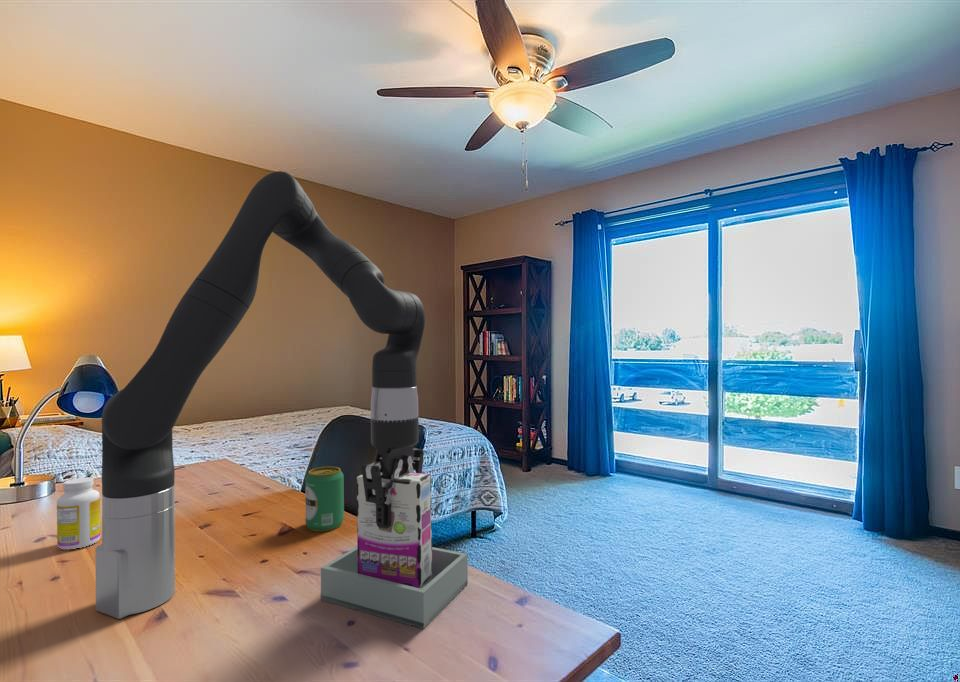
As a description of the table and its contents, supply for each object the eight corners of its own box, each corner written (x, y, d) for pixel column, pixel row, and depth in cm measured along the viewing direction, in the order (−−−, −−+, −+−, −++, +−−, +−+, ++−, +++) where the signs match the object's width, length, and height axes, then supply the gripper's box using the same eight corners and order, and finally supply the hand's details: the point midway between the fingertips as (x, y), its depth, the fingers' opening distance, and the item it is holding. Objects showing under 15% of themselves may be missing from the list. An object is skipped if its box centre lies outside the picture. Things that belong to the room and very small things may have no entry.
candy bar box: (433, 574, 78) (432, 472, 78) (420, 590, 73) (420, 481, 73) (372, 565, 81) (371, 467, 81) (355, 579, 76) (355, 476, 76)
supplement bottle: (95, 535, 102) (95, 474, 102) (104, 543, 97) (104, 479, 97) (53, 545, 96) (53, 481, 96) (61, 554, 92) (60, 487, 92)
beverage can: (299, 525, 106) (298, 470, 106) (332, 516, 112) (332, 464, 112) (316, 535, 100) (316, 477, 101) (350, 525, 106) (350, 470, 106)
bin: (423, 628, 67) (423, 592, 67) (320, 599, 75) (320, 567, 75) (467, 584, 79) (467, 553, 79) (375, 563, 87) (375, 535, 87)
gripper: (387, 423, 69) (387, 541, 69) (437, 410, 82) (438, 510, 82) (345, 419, 72) (346, 533, 72) (400, 408, 85) (401, 504, 85)
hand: (395, 520), depth 77 cm, fingers open, 5 cm apart
